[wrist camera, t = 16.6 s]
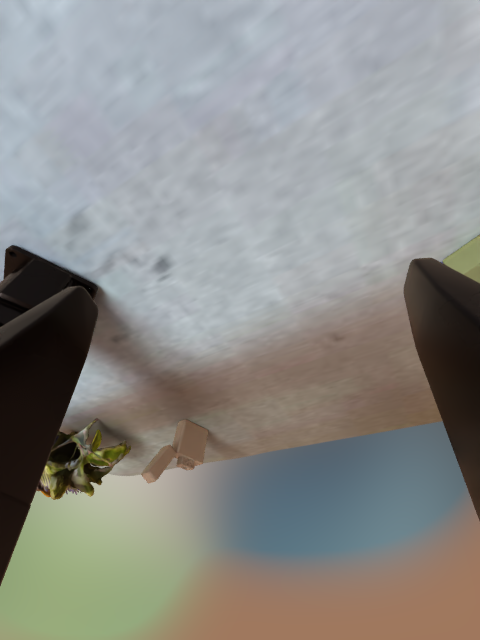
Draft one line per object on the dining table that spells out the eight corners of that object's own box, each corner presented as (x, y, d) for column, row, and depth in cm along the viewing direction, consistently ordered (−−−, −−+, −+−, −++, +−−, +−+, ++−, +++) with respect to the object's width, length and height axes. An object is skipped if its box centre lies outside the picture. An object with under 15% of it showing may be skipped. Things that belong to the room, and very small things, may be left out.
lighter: (209, 430, 41) (197, 496, 36) (201, 433, 42) (188, 498, 36) (166, 409, 38) (146, 477, 32) (159, 413, 39) (138, 480, 33)
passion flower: (92, 400, 50) (10, 450, 42) (105, 385, 42) (6, 443, 34) (129, 458, 50) (53, 518, 42) (149, 454, 41) (59, 528, 34)
